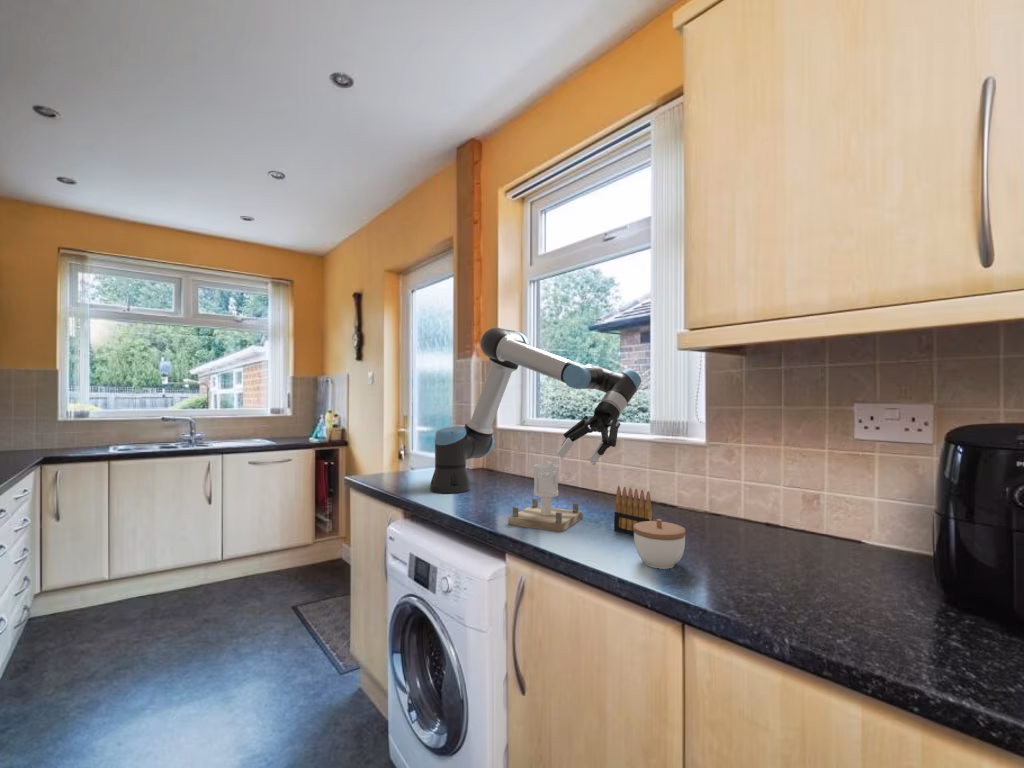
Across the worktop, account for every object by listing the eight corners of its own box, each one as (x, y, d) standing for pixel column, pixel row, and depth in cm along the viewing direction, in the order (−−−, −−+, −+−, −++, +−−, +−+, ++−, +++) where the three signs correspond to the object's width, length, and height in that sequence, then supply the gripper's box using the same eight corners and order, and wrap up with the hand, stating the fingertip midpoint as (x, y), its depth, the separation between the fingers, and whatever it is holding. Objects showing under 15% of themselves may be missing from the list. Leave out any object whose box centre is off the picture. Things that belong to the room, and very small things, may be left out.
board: (532, 511, 146) (532, 497, 146) (582, 518, 138) (582, 502, 138) (508, 524, 131) (508, 507, 132) (561, 532, 124) (561, 514, 124)
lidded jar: (694, 564, 101) (694, 519, 101) (671, 577, 93) (671, 529, 94) (648, 552, 108) (648, 511, 109) (623, 563, 101) (623, 519, 101)
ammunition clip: (653, 538, 119) (653, 490, 119) (649, 540, 118) (649, 491, 118) (617, 529, 127) (617, 484, 127) (613, 530, 126) (613, 485, 126)
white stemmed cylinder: (540, 518, 130) (540, 463, 131) (529, 512, 137) (529, 460, 137) (562, 515, 133) (562, 462, 133) (551, 510, 140) (551, 459, 140)
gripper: (647, 419, 142) (612, 473, 133) (587, 414, 162) (553, 461, 153) (636, 401, 139) (599, 455, 130) (576, 399, 159) (541, 446, 150)
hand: (574, 459), depth 141 cm, fingers open, 13 cm apart
